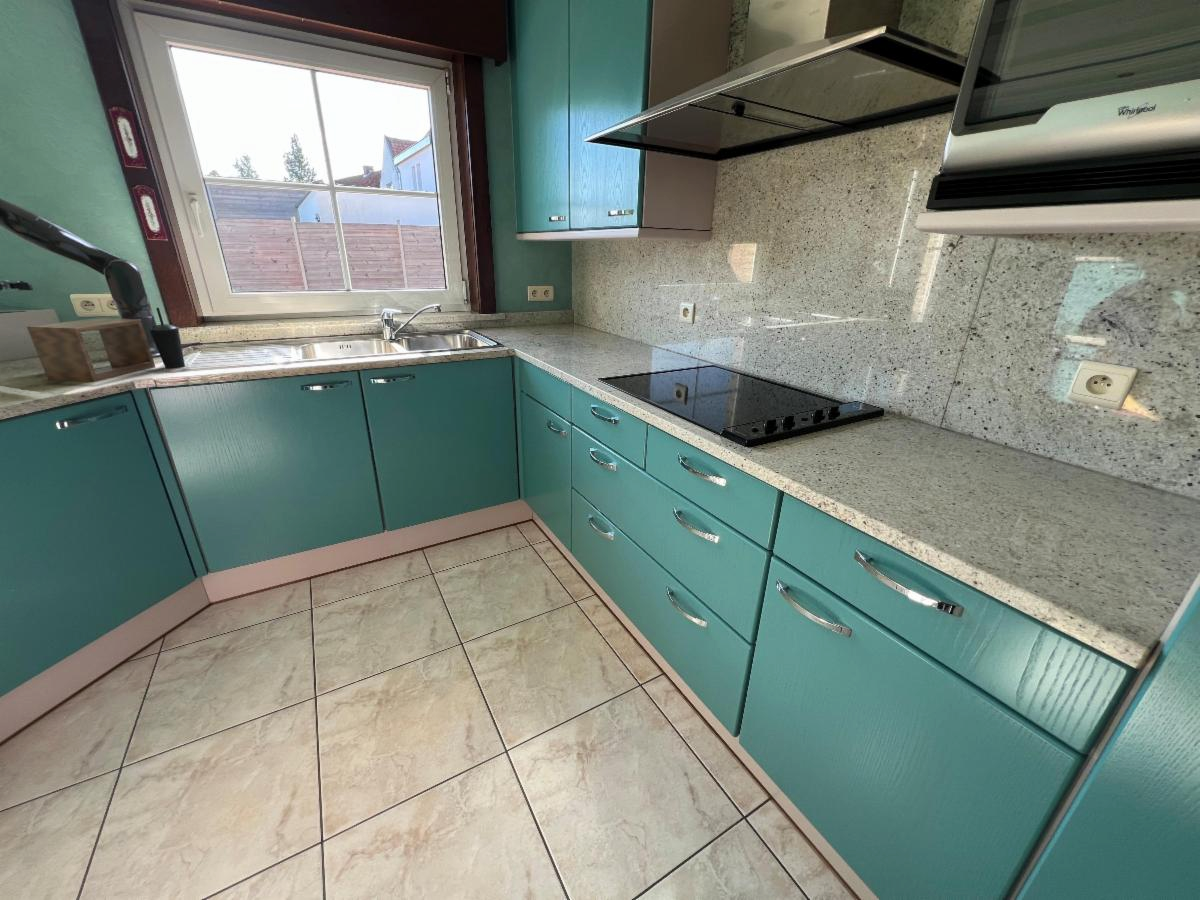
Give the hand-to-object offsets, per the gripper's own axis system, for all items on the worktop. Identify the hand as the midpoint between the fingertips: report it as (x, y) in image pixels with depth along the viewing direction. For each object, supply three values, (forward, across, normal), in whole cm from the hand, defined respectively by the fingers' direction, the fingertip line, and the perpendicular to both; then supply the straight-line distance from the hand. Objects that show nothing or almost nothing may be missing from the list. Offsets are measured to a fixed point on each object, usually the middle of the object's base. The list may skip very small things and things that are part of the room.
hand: (14, 287), depth 143 cm
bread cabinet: (+18, 0, +26) cm, 32 cm away
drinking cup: (+31, +11, +26) cm, 42 cm away
